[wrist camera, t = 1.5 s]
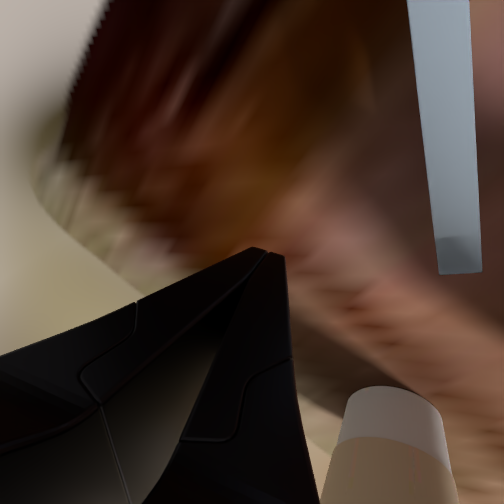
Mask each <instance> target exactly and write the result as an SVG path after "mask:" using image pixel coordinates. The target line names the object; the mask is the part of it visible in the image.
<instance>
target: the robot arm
mask: <svg viewBox="0 0 504 504" xmlns="http://www.w3.org/2000/svg"><path fill="white" fill-rule="evenodd" d="M0 504H320V500H319V496H318V492H317V488H316V483H315V479H314V474H313V470H312V465H311V461H310V457H309V452H308V448H307V444H306V439H305V435H304V430H303V426H302V420H301V415H300V410H299V404H298V398H297V390H296V382H295V372H294V361H293V349H292V336H291V323H290V310H289V297H288V284H287V271H286V259H285V256H283V255H280V254H277V253H273V252H269V253H268V252H267V251H266V250H263V249H260V248H256V247H250V248H248V249H246V250H244V251H242V252H240V253H237V254H235V255H233V256H231V257H229V258H227V259H225V260H223V261H220V262H218V263H216V264H214V265H212V266H210V267H208V268H206V269H203V270H201V271H199V272H197V273H195V274H193V275H191V276H188V277H186V278H184V279H182V280H180V281H178V282H176V283H174V284H171V285H169V286H167V287H165V288H163V289H161V290H159V291H157V292H154V293H152V294H150V295H148V296H146V297H144V298H142V299H140V300H138V301H137V303H135V302H133V303H131V304H129V305H127V306H124V307H123V308H120V309H118V310H116V311H114V312H111V313H109V314H107V315H105V316H102V317H100V318H98V319H95V320H93V321H91V322H88V323H85V324H83V325H81V326H78V327H75V328H73V329H70V330H68V331H65V332H63V333H60V334H57V335H55V336H52V337H50V338H47V339H44V340H41V341H39V342H36V343H33V344H30V345H28V346H25V347H22V348H20V349H17V350H14V351H12V352H9V353H6V354H4V355H1V356H0Z"/></svg>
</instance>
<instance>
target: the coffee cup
mask: <svg viewBox="0 0 504 504" xmlns="http://www.w3.org/2000/svg"><path fill="white" fill-rule="evenodd" d="M320 504H459V499H458V494H457V489H456V484H455V480H454V478H453V476H452V472H451V466H450V461H449V455H448V450H447V444H446V439H445V433H444V428H443V422H442V418H441V415H440V414H439V412H438V411H437V409H436V408H435V407H434V406H433V405H432V404H431V403H430V402H428V401H427V400H426V399H424V398H422V397H421V396H419V395H417V394H415V393H412V392H410V391H407V390H404V389H400V388H396V387H389V386H372V387H367V388H363V389H360V390H358V391H356V392H355V393H353V394H352V395H351V396H350V398H349V399H348V402H347V406H346V410H345V414H344V418H343V422H342V426H341V430H340V434H339V438H338V442H337V446H336V447H335V449H334V451H333V454H332V457H331V461H330V465H329V469H328V472H327V476H326V480H325V484H324V488H323V492H322V495H321V499H320Z"/></svg>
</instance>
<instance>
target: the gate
mask: <svg viewBox="0 0 504 504" xmlns="http://www.w3.org/2000/svg"><path fill="white" fill-rule="evenodd" d="M407 8H408V16H409V25H410V33H411V42H412V51H413V59H414V68H415V77H416V85H417V94H418V102H419V111H420V120H421V128H422V137H423V145H424V154H425V163H426V171H427V180H428V188H429V197H430V205H431V213H432V221H433V229H434V237H435V245H436V254H437V262H438V270H439V275H448V274H464V273H479V272H482V254H481V234H480V213H479V193H478V173H477V152H476V132H475V111H474V91H473V71H472V50H471V30H470V9H469V0H407Z"/></svg>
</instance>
